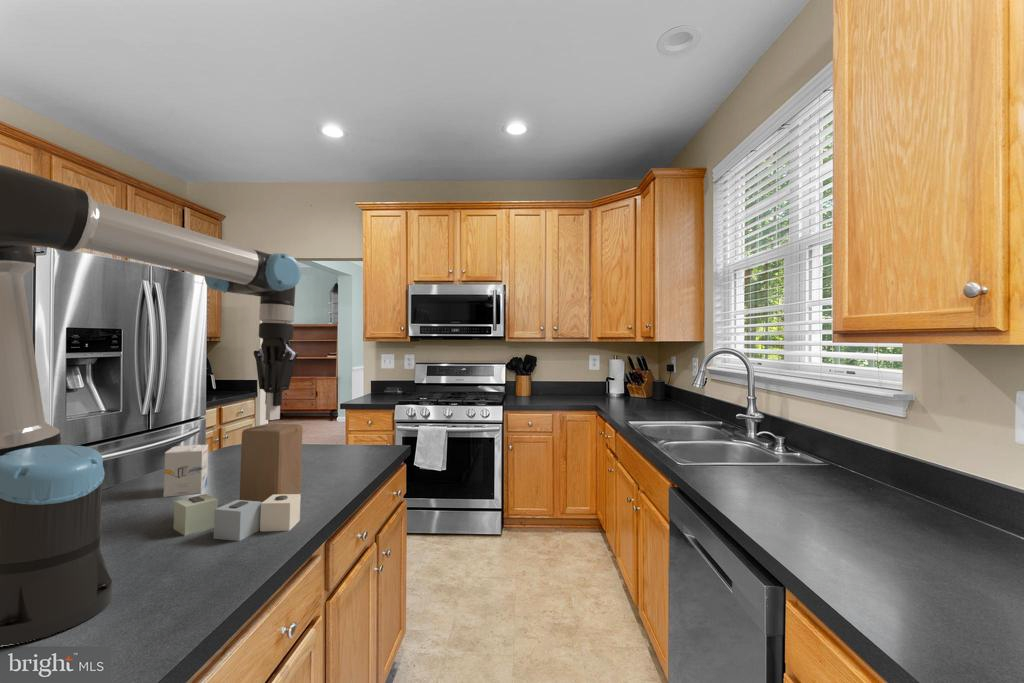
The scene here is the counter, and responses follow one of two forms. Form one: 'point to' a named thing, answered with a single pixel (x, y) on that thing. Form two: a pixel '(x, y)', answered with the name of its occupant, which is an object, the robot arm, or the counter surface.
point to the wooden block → (270, 461)
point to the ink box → (185, 470)
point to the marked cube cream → (280, 512)
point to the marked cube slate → (237, 520)
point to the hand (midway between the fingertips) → (272, 419)
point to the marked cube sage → (194, 514)
